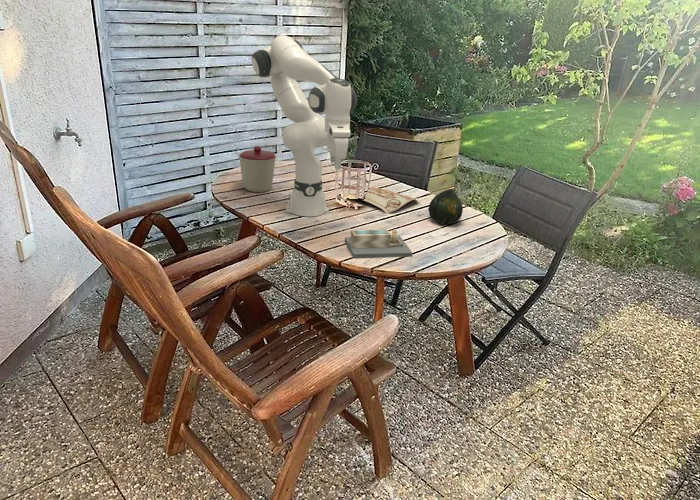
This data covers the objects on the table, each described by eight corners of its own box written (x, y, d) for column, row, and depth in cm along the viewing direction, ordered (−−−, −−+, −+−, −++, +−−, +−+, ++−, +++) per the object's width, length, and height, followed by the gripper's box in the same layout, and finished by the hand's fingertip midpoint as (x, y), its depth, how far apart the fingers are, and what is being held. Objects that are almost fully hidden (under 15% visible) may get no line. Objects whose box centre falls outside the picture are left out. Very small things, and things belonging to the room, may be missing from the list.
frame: (353, 248, 193) (353, 235, 191) (349, 242, 198) (350, 229, 196) (402, 247, 197) (404, 234, 195) (398, 241, 202) (400, 228, 200)
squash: (424, 213, 221) (451, 189, 218) (420, 203, 235) (446, 180, 232) (447, 236, 225) (474, 212, 221) (441, 225, 239) (467, 202, 235)
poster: (423, 208, 255) (374, 192, 272) (426, 196, 253) (376, 180, 270) (390, 217, 234) (339, 199, 251) (392, 204, 232) (341, 186, 249)
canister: (232, 186, 258) (231, 143, 250) (266, 182, 268) (266, 140, 260) (247, 196, 245) (247, 151, 237) (283, 192, 254) (283, 148, 246)
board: (344, 240, 203) (345, 222, 200) (399, 239, 207) (401, 222, 204) (353, 258, 188) (354, 238, 185) (412, 256, 193) (414, 237, 190)
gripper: (323, 121, 195) (322, 158, 201) (333, 132, 177) (331, 173, 182) (340, 122, 196) (338, 158, 202) (351, 133, 178) (349, 173, 184)
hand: (335, 165), depth 192 cm, fingers open, 8 cm apart
